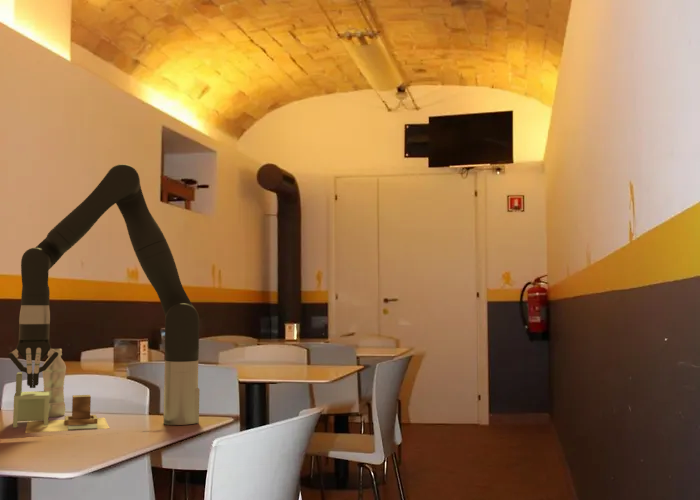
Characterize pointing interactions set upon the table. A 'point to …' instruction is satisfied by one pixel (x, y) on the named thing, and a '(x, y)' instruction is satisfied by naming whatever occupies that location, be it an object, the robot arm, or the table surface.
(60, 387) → the plastic bottle
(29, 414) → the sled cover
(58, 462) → the table surface
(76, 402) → the walnut block
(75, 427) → the puzzle board
